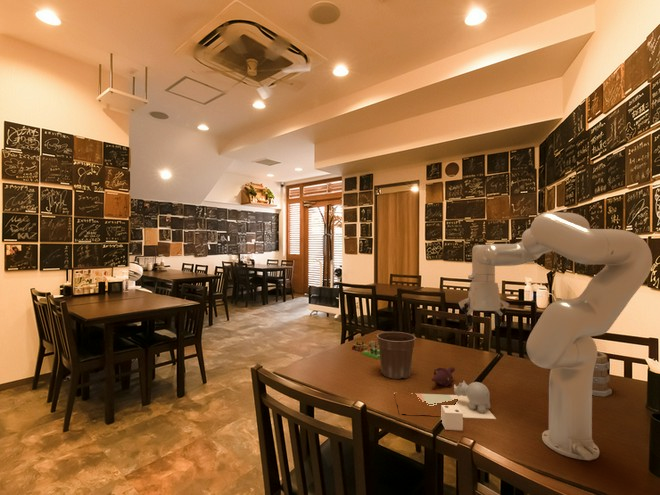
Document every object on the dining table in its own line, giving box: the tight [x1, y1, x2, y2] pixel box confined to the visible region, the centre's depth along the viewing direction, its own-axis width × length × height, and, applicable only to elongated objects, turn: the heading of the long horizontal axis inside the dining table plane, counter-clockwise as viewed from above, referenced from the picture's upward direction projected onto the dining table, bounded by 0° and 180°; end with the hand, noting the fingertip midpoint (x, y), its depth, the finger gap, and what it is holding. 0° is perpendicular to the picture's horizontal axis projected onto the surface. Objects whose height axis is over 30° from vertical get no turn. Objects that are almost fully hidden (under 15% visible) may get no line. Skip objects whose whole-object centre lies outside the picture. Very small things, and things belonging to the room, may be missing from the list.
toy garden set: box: [351, 340, 380, 360], centre depth 175 cm, size 23×19×5 cm
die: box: [440, 405, 464, 431], centre depth 101 cm, size 5×5×5 cm
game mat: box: [393, 392, 497, 420], centre depth 114 cm, size 16×30×1 cm, turn 86°
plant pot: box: [376, 331, 417, 380], centre depth 142 cm, size 16×16×16 cm
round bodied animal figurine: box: [453, 380, 491, 413], centre depth 113 cm, size 7×12×8 cm, turn 42°
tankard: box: [592, 350, 613, 398], centre depth 128 cm, size 20×13×15 cm, turn 74°
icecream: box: [431, 366, 456, 387], centre depth 131 cm, size 7×7×15 cm
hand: (483, 325), depth 122 cm, fingers open, 9 cm apart
